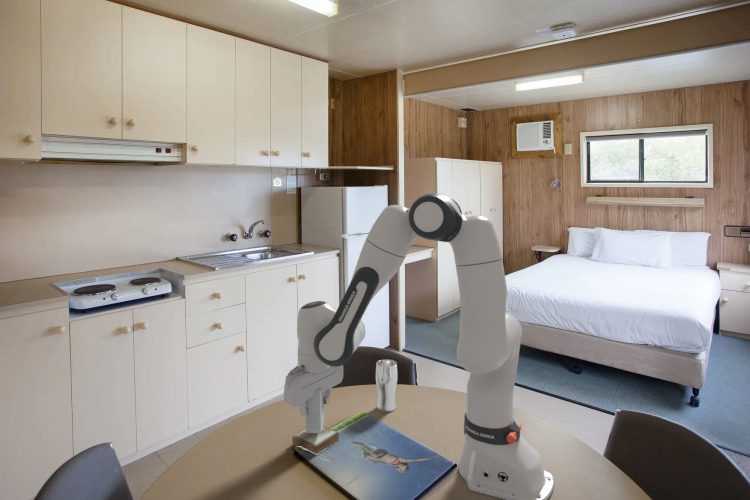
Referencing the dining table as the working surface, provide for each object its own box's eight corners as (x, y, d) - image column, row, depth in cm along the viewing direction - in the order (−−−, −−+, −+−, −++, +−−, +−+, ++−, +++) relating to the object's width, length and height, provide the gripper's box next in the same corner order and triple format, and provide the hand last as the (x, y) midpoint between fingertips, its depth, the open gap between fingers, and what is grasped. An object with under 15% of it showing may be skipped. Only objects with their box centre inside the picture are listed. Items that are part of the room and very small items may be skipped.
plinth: (338, 442, 131) (338, 431, 131) (316, 457, 124) (316, 446, 124) (315, 432, 136) (314, 422, 136) (292, 446, 129) (292, 435, 129)
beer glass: (397, 403, 154) (398, 359, 152) (396, 413, 147) (396, 367, 145) (376, 402, 155) (376, 358, 153) (374, 412, 148) (374, 366, 146)
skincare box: (309, 422, 133) (308, 382, 131) (324, 422, 133) (323, 382, 131) (305, 433, 127) (304, 391, 125) (321, 433, 127) (320, 391, 125)
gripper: (294, 375, 117) (296, 427, 119) (346, 352, 133) (347, 398, 135) (277, 369, 121) (278, 420, 122) (330, 348, 137) (330, 393, 139)
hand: (315, 408), depth 129 cm, fingers closed on skincare box, 7 cm apart
